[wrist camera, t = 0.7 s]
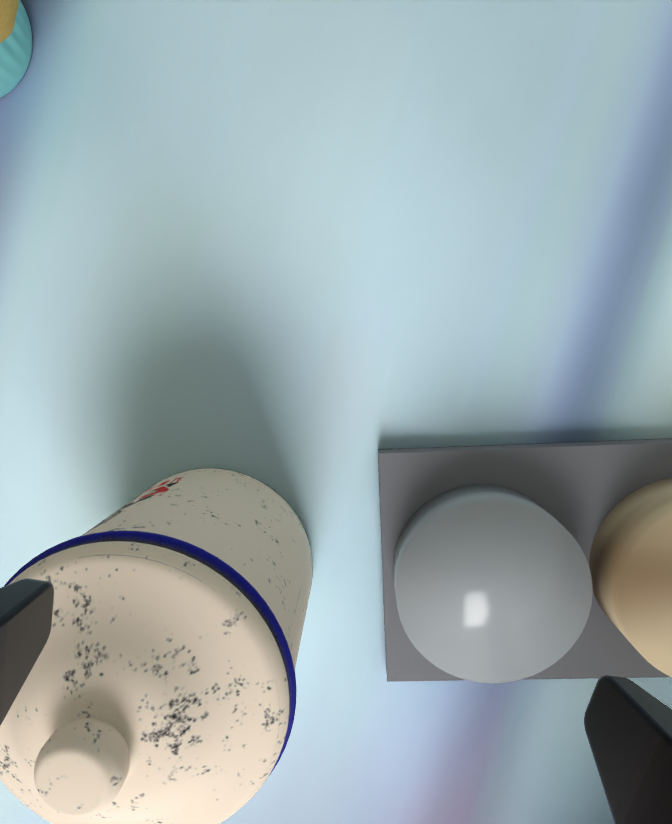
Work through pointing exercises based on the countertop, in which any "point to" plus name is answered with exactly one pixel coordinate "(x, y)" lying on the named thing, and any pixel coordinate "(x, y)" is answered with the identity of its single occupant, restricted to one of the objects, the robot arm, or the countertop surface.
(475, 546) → the grey puck
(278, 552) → the teacup with lid
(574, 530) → the mat
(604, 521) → the cork lid
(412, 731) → the countertop surface
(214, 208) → the countertop surface
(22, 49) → the cupcake
